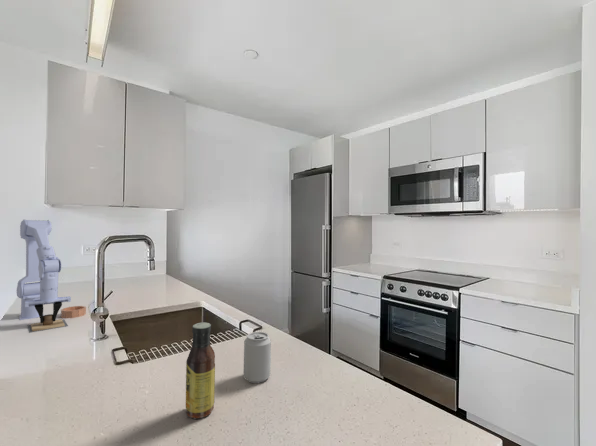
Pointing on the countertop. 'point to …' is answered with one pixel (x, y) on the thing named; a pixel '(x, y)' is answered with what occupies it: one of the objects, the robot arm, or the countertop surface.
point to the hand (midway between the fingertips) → (47, 321)
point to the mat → (45, 329)
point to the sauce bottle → (200, 373)
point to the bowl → (73, 312)
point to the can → (257, 357)
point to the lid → (47, 323)
